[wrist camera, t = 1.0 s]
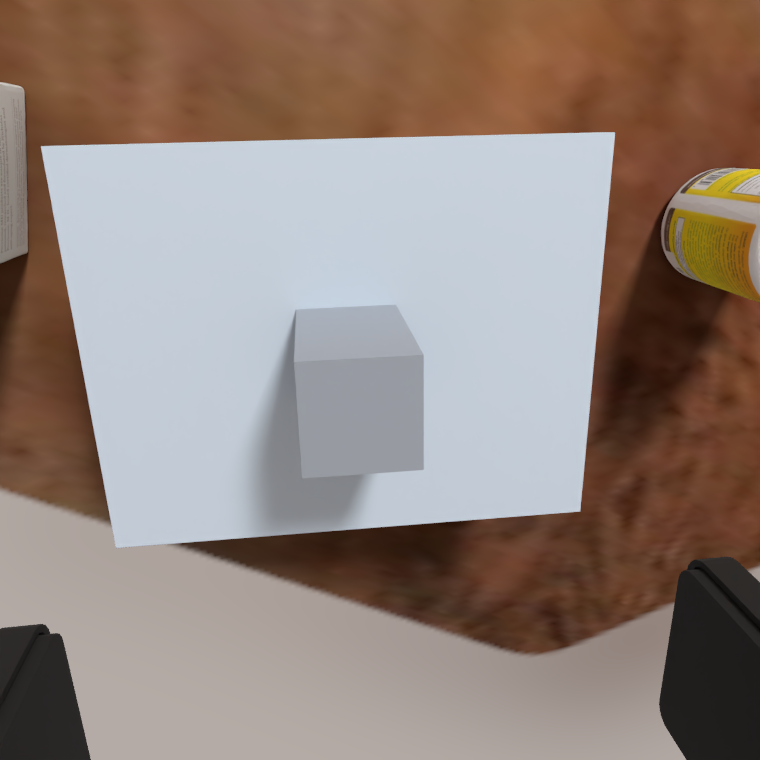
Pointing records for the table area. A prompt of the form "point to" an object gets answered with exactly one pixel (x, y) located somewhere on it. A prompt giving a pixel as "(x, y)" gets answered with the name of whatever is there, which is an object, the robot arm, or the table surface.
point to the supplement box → (13, 173)
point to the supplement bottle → (717, 230)
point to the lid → (334, 327)
